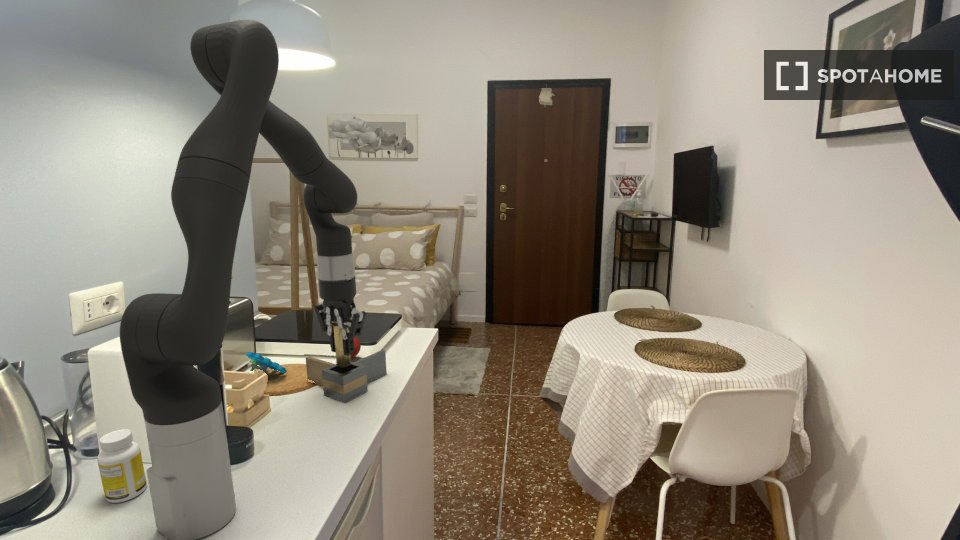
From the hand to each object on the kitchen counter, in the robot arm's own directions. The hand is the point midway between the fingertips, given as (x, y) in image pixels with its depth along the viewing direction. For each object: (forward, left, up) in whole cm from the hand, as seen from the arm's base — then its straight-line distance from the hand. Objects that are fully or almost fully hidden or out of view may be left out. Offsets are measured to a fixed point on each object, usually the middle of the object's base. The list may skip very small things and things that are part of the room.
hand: (342, 352), depth 109 cm
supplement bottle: (-42, +3, -10) cm, 43 cm away
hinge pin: (0, 0, -3) cm, 3 cm away
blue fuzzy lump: (-4, +23, -10) cm, 26 cm away
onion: (+14, +14, -10) cm, 22 cm away
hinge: (+5, +5, -10) cm, 12 cm away
